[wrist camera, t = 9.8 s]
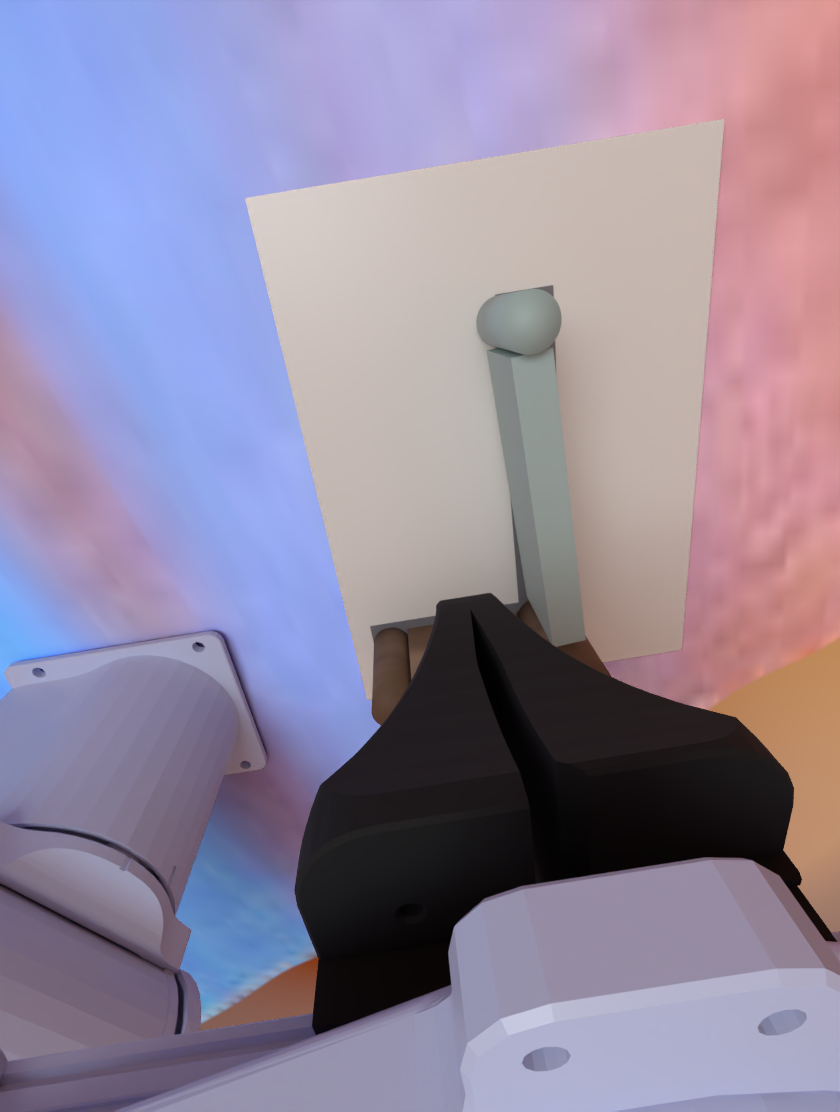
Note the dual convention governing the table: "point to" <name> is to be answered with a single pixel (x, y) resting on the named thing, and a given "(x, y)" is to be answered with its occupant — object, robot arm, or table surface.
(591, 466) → the card
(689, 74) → the table surface
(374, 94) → the table surface
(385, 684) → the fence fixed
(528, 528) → the fence panel
